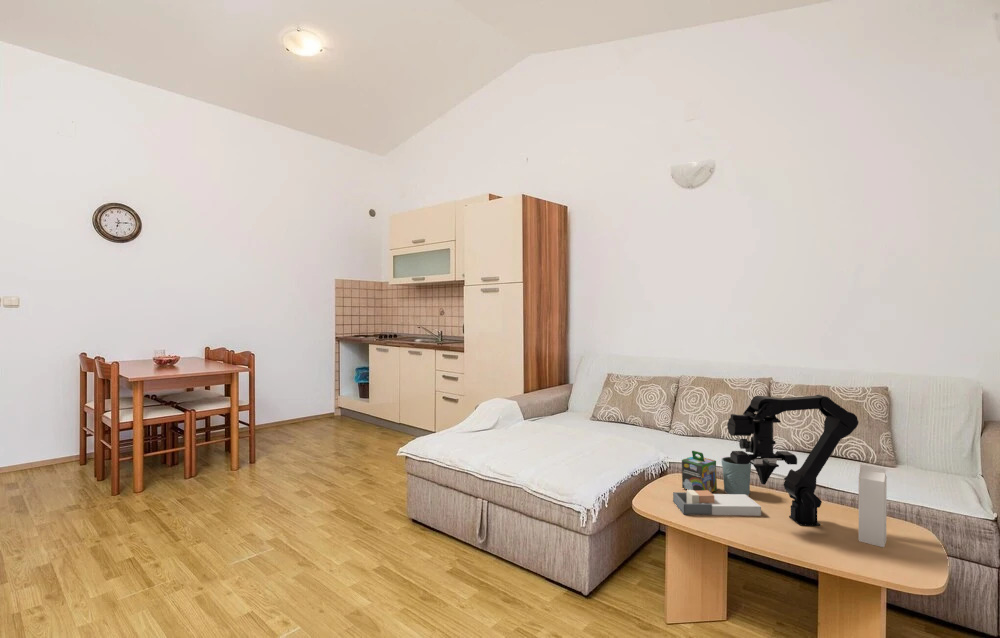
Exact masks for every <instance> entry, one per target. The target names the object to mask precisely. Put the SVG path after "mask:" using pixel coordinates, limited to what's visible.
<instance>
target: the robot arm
mask: <svg viewBox="0 0 1000 638" xmlns="http://www.w3.org/2000/svg"><path fill="white" fill-rule="evenodd" d="M749 403H750V404H749V405H748V406H747V408H746V409H745V410H744V412H743V413H742V414H737V413H731V414H730V417H729V419H728V421H727V425H726V427H727V432H728V433H729V435H730V436H731V437H733V436H734V437H735V436H737V437H738V436H739V437H750V441H749V440H748V439H747V438H739V448H740V450H731V452H730V455H729V457H730V459H731V460H733V461H734V462H736V463H737V464H749V463H751V465H752V466H753V467H754V469H755V470H756V472H757V476H758V479H759V482H760V483H761V485H764V486H765V485H766V484H767V482H768V480H769V479H770V476H771V475H772V473H773V472H774V471H775V469H776V468H779V466H780V465H779V464H777V461H783V462H785V463H786V464H787V465H798V457H797V456H796V455H795V454H794V453H792V452H789V451H787V450H784V451H783V450H776V451H775V452H774V445H776V440H775V439H774V424H775V423H778V424H780V423H781V422H782V421H781V420H780V419H779V418H778V417H777V415H780V414H782V413H784V412H790V411H791V412H792V411H806V410H807V411H808V410H818V411H819V412H820V413H821V414H822V415H823V416H824V417H825V420H824V422H823V431H822V434H820V435H821V436H819V439H818V440H817V441H816V443H815V445H814V447H813V448H812V449H811V451H810V453H809V455H808V456H807V457H806V459H805V461H804V462H803V464H802V465H801V467H800V468H799V469H797V470H794V469H790V470H789V471H788V473H787V475H786V476H785V477H784V478H783V480H784V482H783V487H784V490H785V492H786V493H787V494H788V495H789V498H791V499H792V500H791V505H790V515H788V517H789V518H790V519H791V520H792V521H793V522H795V523H796V524H797V525H799V526H818V527H819V526H821V522H819V521H818V508H821V505H822V500H821V499H820V498H819V497H818V496H817V495H816V494H815V491H816V488H817V478H818V476H819V474H820V472H821V471H822V469H823V468H824V466H825V465H826V463H827V461H828V460H829V459H830V457H831V455H832V454H833V452H834V450H835V449H836V447H837V446H838V444H839V443H840V441H842V439H845V438H846V437H848V436H849V435H851V434H852V433H853V432H854V430H855V429H856V428H857V427H858V425H859V419H858V417H857V415H856V414H855V413H853V412H851V411H848V410H846V409H845V408H844V407H842V406H840V405H839V404H837V403H836V402H835V401H833V399H831V398H830V397H828V396H826V395H822V394H815V395H808V396H807V395H805V396H791V397H775V396H774V397H773V396H767V395H755V396H753V398H751V400H750V402H749ZM744 450H745V451H744Z"/></svg>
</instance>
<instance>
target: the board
mask: <svg viewBox="0 0 1000 638" xmlns="http://www.w3.org/2000/svg"><path fill="white" fill-rule="evenodd" d="M712 494H713V495H714V503H702V504H712V515H711V516H752V517H753V516H756V517H757V516H759V517H760V516H762V506H761V505H760V504H758V503H757V502H756V501H755V500H754V499H752V498H751V497H749V495H748V496H747V495H746V494H728V493H712Z"/></svg>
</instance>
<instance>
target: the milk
mask: <svg viewBox="0 0 1000 638" xmlns="http://www.w3.org/2000/svg"><path fill="white" fill-rule="evenodd" d="M886 471H887V470H886V468H884V467H881V466H880V467H879V466H878V467H877V466H873V465H868V464H860V465H859V473H858V542H861V543H865V544H868V545H873V546H875V547H876V546H877V547H880V548H885V546H886V543H887V487H888V486H887V478H888V477H887V473H886Z"/></svg>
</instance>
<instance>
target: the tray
mask: <svg viewBox="0 0 1000 638" xmlns="http://www.w3.org/2000/svg"><path fill="white" fill-rule="evenodd" d="M672 496H673V497H672V502H674V503H675V504H676V505H677V506H676V505H675V504H674V503H673V504H674V505H675V506H676V507H677V508H678V510H679V509H680V510H679V511H680V512H681V514H683V515H684V516H713V515H712V504H702V503H699V504H691V503H687V493H686V492H683V491H682V492H681V491H680V492H676V491H675V492H673V493H672Z"/></svg>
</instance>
